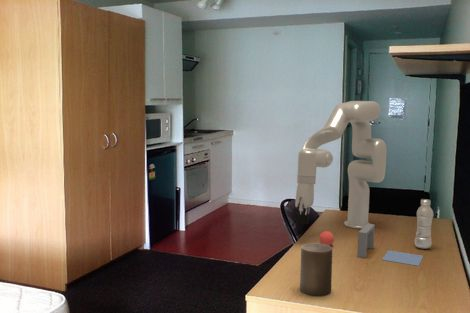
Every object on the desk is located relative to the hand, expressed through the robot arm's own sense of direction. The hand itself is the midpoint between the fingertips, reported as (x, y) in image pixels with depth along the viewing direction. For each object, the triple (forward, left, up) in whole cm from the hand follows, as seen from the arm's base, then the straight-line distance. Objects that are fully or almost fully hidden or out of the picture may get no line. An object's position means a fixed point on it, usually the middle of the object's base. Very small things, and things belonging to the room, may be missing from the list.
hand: (304, 223), depth 197 cm
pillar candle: (+46, +21, -9) cm, 52 cm away
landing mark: (-1, +40, -8) cm, 41 cm away
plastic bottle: (-19, +45, -8) cm, 49 cm away
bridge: (-1, +26, -8) cm, 27 cm away
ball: (-1, +10, -5) cm, 11 cm away
